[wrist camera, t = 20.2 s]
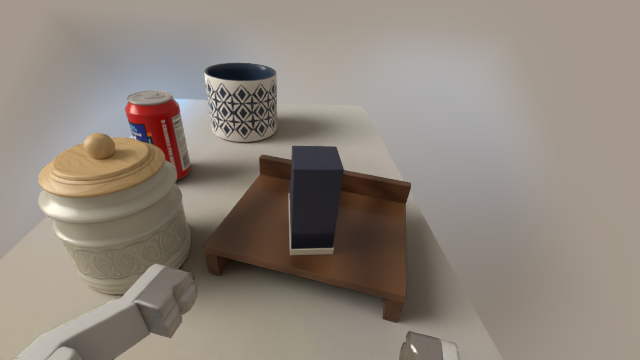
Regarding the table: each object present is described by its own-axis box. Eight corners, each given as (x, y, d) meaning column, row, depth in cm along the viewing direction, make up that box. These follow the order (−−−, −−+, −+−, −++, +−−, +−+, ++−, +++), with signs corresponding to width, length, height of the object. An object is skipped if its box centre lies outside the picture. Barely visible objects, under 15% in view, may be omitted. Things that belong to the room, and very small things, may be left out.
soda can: (196, 179, 55) (181, 101, 46) (149, 190, 51) (124, 107, 43) (186, 160, 60) (171, 87, 52) (143, 169, 56) (119, 91, 48)
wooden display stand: (398, 223, 49) (410, 182, 44) (396, 322, 34) (414, 277, 30) (263, 194, 53) (262, 154, 48) (208, 272, 38) (199, 225, 33)
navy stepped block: (322, 198, 45) (330, 124, 38) (333, 254, 35) (345, 170, 29) (288, 198, 44) (289, 123, 37) (290, 255, 35) (292, 169, 28)
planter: (279, 119, 82) (279, 65, 74) (273, 145, 68) (272, 83, 60) (221, 115, 81) (214, 60, 73) (204, 141, 67) (193, 77, 59)
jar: (212, 252, 41) (190, 136, 31) (108, 319, 32) (33, 187, 22) (163, 211, 47) (132, 103, 37) (65, 257, 38) (-9, 132, 28)
